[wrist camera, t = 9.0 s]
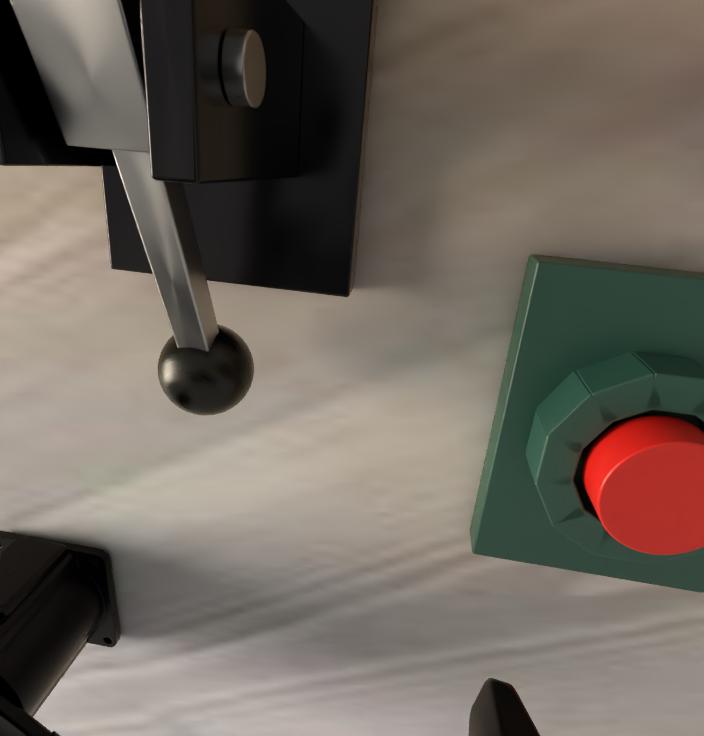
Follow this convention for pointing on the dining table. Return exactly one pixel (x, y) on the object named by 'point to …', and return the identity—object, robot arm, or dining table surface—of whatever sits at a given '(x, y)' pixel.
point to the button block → (587, 409)
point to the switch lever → (137, 183)
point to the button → (649, 484)
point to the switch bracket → (231, 133)
